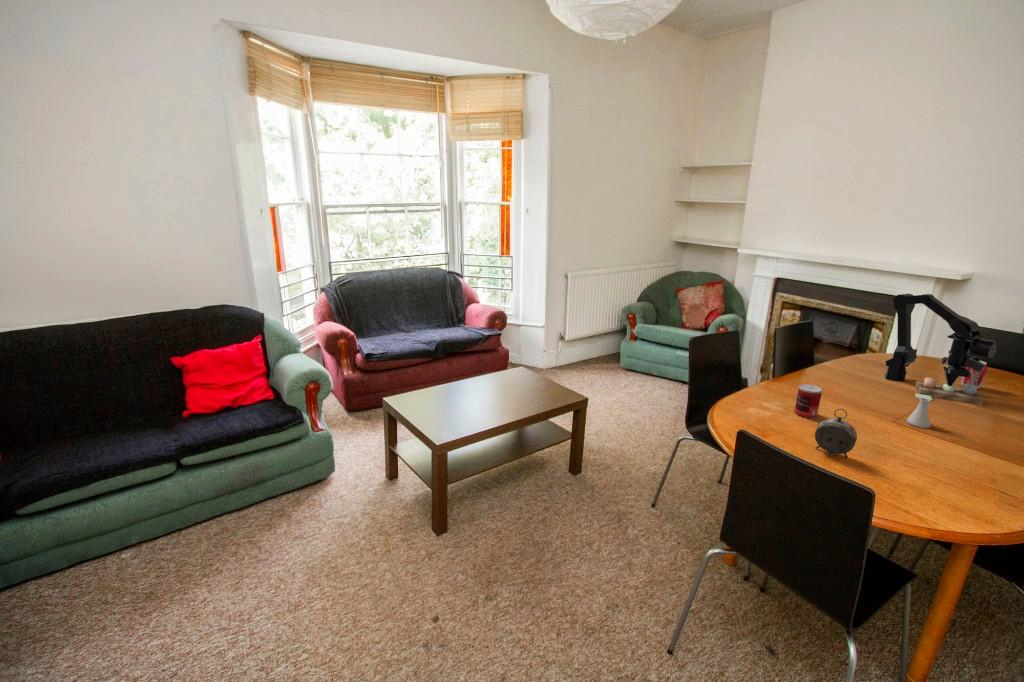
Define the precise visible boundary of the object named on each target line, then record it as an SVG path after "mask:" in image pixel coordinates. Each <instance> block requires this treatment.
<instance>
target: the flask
mask: <svg viewBox="0 0 1024 682" xmlns="http://www.w3.org/2000/svg"><path fill="white" fill-rule="evenodd" d="M918 400H919V403H918V404H917V407H916V408H915V409H914V410H913V412H912V413H911V414H910V415H909V417H907V418H906V423H907V424H909V425H911V426H913V427H916V428H921V429H931V421H930V417H929V404H930V403H931V401H930V400H929V399H926V398H919V399H918Z"/></svg>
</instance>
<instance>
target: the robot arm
mask: <svg viewBox="0 0 1024 682" xmlns="http://www.w3.org/2000/svg"><path fill="white" fill-rule="evenodd" d="M892 304H893V309H894V311H895V312H896V314H897V341H896V342H897V345H896V347H895V349H894V351H893V355H892V358H890V359H888V360H887V359H886V360H885V366H886V371H885V372H886V373H885V374H884V377H885V380H889V381H894V382H895V381H896V382H900V383H903V382H904V381H905V379H906V375H907V369H906V368H907V367H909V366H910V365H912V364H913V363H915V361H916V359H918V356H917V352H918V350H917V348H913V347H912V313H913V311H914V309H915V307H916V304H917V305H918V304H921V305H922V304H923V306H926V307H927V308H928V309H930V311H932V312H933V313H935V315H938V317H940V318H941V319H942V320H944V321H945V322H946V323H947V324H948V326H949V328H950V329H951V330H952V331H953V333H952V334H949V335H947V338H948V339H951V340H952V343H951V345H950V346H951V347H950V349H949V350H948V351H947V353H948V356H944V357H942V358H941V359H940V364H941V365H944V364H945V366H943V372H944V375H945V376H944V377H945V381H946V384H947V385H948V386H952V385H953V384H954V383H955V382H956V380H957V379H958V378H959V377H961V378H962V377H969V376H970V372H969V371H968V370H967V369H966V368H967V367H970V368H972V369H975V370H976V371H978V372H980V371H981V370H982V369H983V367H984V366H985V365H984V364H983V363H981V362H979V361H980V358H979V357H977V356H981V357H983V358H989V359H991V358H993V357H994V356H995V354H997V350H998V349H997V345H996V343H997V341H996V340H992V339H991V340H990V339H984V337H983V335H982V333H981V332H980V330H979V324H978V323H977V322H976V321H974V320H972V319H970V318H968V317H965V316H963V315H960V314H958V313H957V312H956V311H954V310H952V309H951V307H948V306H947V305H946V304H945V303H943V302H942V301H940V300H939V299H938V298H936V297H935V296H934V294H931V293H927V294H917V295H914V294H912V293H901V294H900V293H899V294H897V295H895V296H894V297H893V298H892ZM969 353H971V354H972V355H974V356H972V357H971V355H970V354H969ZM975 355H976V356H975Z"/></svg>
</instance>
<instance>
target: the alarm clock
mask: <svg viewBox="0 0 1024 682" xmlns="http://www.w3.org/2000/svg"><path fill="white" fill-rule="evenodd" d="M840 410H841V411H843V412H845V416H844V417H841V416H837V415H836V414H837V411H840ZM834 416H835V418H833V417H831V418H826V419H824V420H822V421H820V422H819V423H818V425H817V427H816V430H815V432H814V439H815V441H816V443H817V446H816V447H815V449H816V450H817V449H818V448H821V449H822V450H823V451H825V452H827V453H828V457H829V458H830V457H832V455H844V456H845V458H846V459H848V458H849V456H848V454H847V453H849V452H851V451H852V450H853V449H854V447H855V445H856V444H857V443H856V442H857V440H858V436H857V431H856V429H855V428H854V426H853V425H851V423H849V422H848V421H846V420H844V419H846V418H847V416H848V412H847V411H846V410H845V409H844V408H837V409H835V411H834Z"/></svg>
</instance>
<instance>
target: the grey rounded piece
mask: <svg viewBox="0 0 1024 682" xmlns="http://www.w3.org/2000/svg"><path fill="white" fill-rule="evenodd" d="M962 388H963V391H962V393H963V394H967V395H974V396H975V393H976V391H977V390H978V389H977V386H976V385H973V384H964V387H963V386H962Z"/></svg>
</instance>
